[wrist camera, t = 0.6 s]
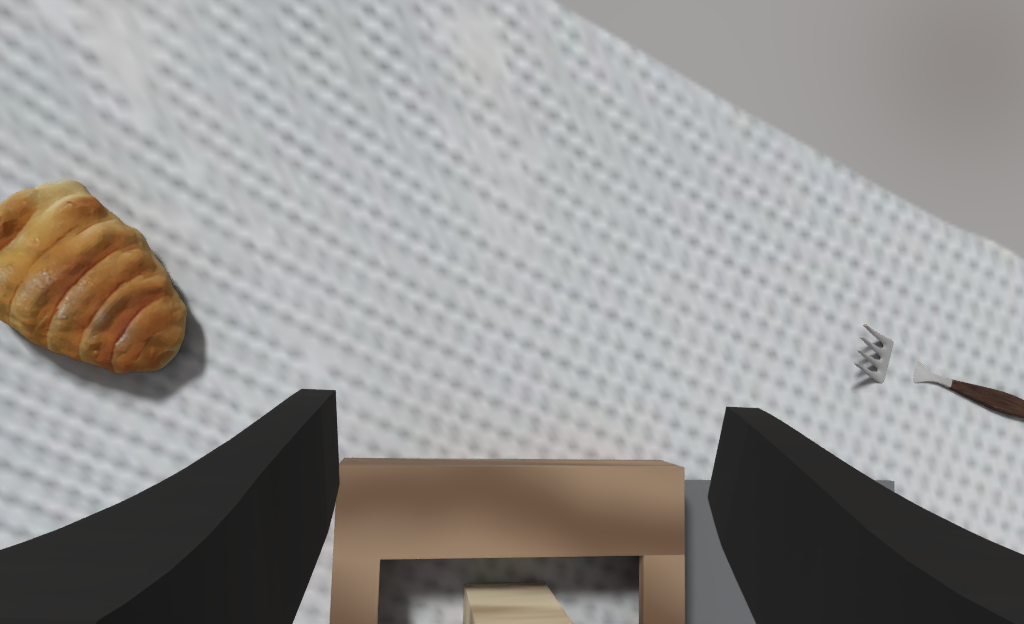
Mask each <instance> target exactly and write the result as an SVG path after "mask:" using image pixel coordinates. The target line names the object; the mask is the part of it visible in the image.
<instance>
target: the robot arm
mask: <svg viewBox="0 0 1024 624" xmlns="http://www.w3.org/2000/svg"><path fill="white" fill-rule="evenodd" d="M339 485H340V477H339V455H338V433H337V410H336V390H316V389H301V390H299V391H298V392H296V393H295V394H293V395H292V396H290V397H289V398H287V399H286V400H285V401H283V402H282V403H281V404H279V405H278V406H276V407H275V408H274V409H272V410H271V411H270V412H268V413H267V414H266V415H264V416H263V417H261V418H260V419H259V420H257V421H256V422H254V423H253V424H252V425H250V426H249V427H247V428H246V429H244V430H243V431H242V432H240V433H239V434H237V435H236V436H235V437H233V438H232V439H230V440H229V441H227V442H226V443H224V444H222V445H221V446H219V447H218V448H216V449H215V450H213V451H211V452H210V453H208V454H207V455H205V456H204V457H202V458H200V459H199V460H197V461H196V462H194V463H193V464H191V465H189V466H188V467H186V468H185V469H183V470H181V471H179V472H178V473H176V474H174V475H172V476H171V477H169V478H167V479H165V480H163V481H162V482H160V483H158V484H156V485H154V486H152V487H150V488H148V489H146V490H144V491H142V492H140V493H138V494H137V495H135V496H133V497H131V498H129V499H126V500H124V501H122V502H120V503H118V504H116V505H113V506H111V507H109V508H106V509H104V510H102V511H100V512H97V513H95V514H93V515H90V516H88V517H86V518H83V519H81V520H79V521H76V522H74V523H72V524H69V525H67V526H65V527H63V528H60V529H57V530H55V531H52V532H50V533H47V534H44V535H42V536H39V537H36V538H33V539H31V540H28V541H25V542H23V543H20V544H17V545H14V546H11V547H8V548H5V549H2V550H0V624H292V623H293V621H294V618H295V616H296V613H297V611H298V608H299V606H300V603H301V601H302V598H303V596H304V593H305V591H306V588H307V585H308V583H309V580H310V578H311V575H312V573H313V570H314V568H315V565H316V562H317V560H318V557H319V555H320V552H321V550H322V547H323V544H324V542H325V539H326V536H327V534H328V531H329V527H330V523H331V519H332V515H333V511H334V507H335V502H336V498H337V494H338V490H339ZM707 498H708V501H709V505H710V509H711V513H712V516H713V520H714V524H715V527H716V530H717V534H718V537H719V540H720V543H721V546H722V549H723V551H724V553H725V556H726V558H727V560H728V563H729V565H730V567H731V569H732V572H733V574H734V576H735V578H736V581H737V583H738V585H739V587H740V590H741V592H742V594H743V596H744V598H745V601H746V603H747V605H748V607H749V609H750V612H751V614H752V616H753V618H754V620H755V623H756V624H1024V555H1023V554H1020V553H1018V552H1015V551H1013V550H1011V549H1008V548H1006V547H1004V546H1001V545H999V544H996V543H994V542H992V541H990V540H987V539H985V538H983V537H981V536H979V535H976V534H974V533H972V532H970V531H968V530H966V529H964V528H962V527H960V526H958V525H956V524H954V523H952V522H950V521H948V520H946V519H944V518H942V517H940V516H938V515H936V514H934V513H932V512H930V511H928V510H926V509H924V508H922V507H920V506H918V505H916V504H914V503H913V502H911V501H909V500H907V499H905V498H904V497H902V496H900V495H898V494H897V493H895V492H893V491H892V490H890V489H888V488H886V487H885V486H883V485H881V484H880V483H878V482H876V481H874V480H873V479H871V478H869V477H868V476H866V475H865V474H863V473H861V472H860V471H858V470H856V469H855V468H853V467H852V466H850V465H848V464H847V463H845V462H844V461H842V460H841V459H839V458H838V457H836V456H834V455H833V454H831V453H830V452H828V451H827V450H825V449H824V448H822V447H821V446H819V445H818V444H816V443H815V442H813V441H812V440H810V439H808V438H807V437H805V436H804V435H802V434H801V433H799V432H798V431H796V430H795V429H793V428H792V427H790V426H789V425H787V424H785V423H784V422H782V421H781V420H779V419H777V418H776V417H774V416H772V415H771V414H769V413H767V412H765V411H763V410H761V409H759V408H742V407H726V411H725V416H724V421H723V425H722V430H721V435H720V440H719V444H718V449H717V454H716V459H715V463H714V468H713V473H712V478H711V482H710V487H709V492H708V497H707Z"/></svg>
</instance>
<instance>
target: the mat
mask: <svg viewBox="0 0 1024 624" xmlns="http://www.w3.org/2000/svg"><path fill="white" fill-rule="evenodd" d="M874 481H876V482H878V483H880V484H881V485H883V486H885V487H886V488H888V489H890V490H892V491H893V492H894V481H882V480H874ZM710 482H711V480H684V507H685V624H756V623H755V620H754V618H753V616H752V614H751V612H750V609H749V607H748V605H747V603H746V601H745V598H744V596H743V594H742V592H741V590H740V587H739V585H738V583H737V581H736V578H735V576H734V574H733V572H732V569H731V567H730V565H729V563H728V560H727V558H726V556H725V553H724V551H723V549H722V546H721V543H720V540H719V537H718V534H717V530H716V527H715V524H714V520H713V516H712V513H711V509H710V505H709V501H708V498H707V497H708V492H709V487H710Z"/></svg>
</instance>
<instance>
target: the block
mask: <svg viewBox="0 0 1024 624" xmlns="http://www.w3.org/2000/svg"><path fill="white" fill-rule="evenodd" d="M463 624H573V623H572V622H571V620H570V619H569V617H568V616H567V614H566V613H565V611H564V610H563V608H562V607H561V605H560V604H559V602H558V601H557V600H556V598H555V597H554V595H553V594H552V592H551V591H550V589H549V588H548V586H547V585H546V583H498V584H464V612H463Z"/></svg>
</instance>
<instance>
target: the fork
mask: <svg viewBox="0 0 1024 624" xmlns="http://www.w3.org/2000/svg"><path fill="white" fill-rule="evenodd" d="M863 326H864V327H865V328H866V329H867V330H868V331H869V332H870V333H871V334H872V335H874V336H875V337H876V338H877V339H878V340H879V341H880V342H881V343H882V344H883V348H880V347H878V346H876V345H874V344H873V343H871V342H869V341H868V340H866V339H865V338H863V337H860V338H861V339H862V340H863V341H864V342H865V343H866V344H867V345H868V346H869V347H870V348H871V349H873V350H874V351H875V352H876V353H877V354H878V355H879V356H880V360H876V359H874V358H872V357H871V356H869V355H867V354H865V353H864V352H862V351H861V350H857V351H858V352H859V353H860V354H861V355H862V356H863V357H865V358H866V359H867V360H868V361H869V362H870V363H872V364H873V365H874V366H875V367H876V368H877V372H876V373H875V372H873V371H871V370H869V369H867V368H865V367H863V366H861V365H860V364H858V363H857V362H854V364H855V365H856V366H857V367H859V368H860V369H861V370H862V371H863V372H864V373H866V374H867V375H868V376H870V377H871V378H872V379H874V380H875V381H877V382H878V383H883V382H884V380H885V376H886V372H887V368H888V364H889V360H890V356H891V352H892V347H893V341H892V340H891V339H889V338H886V337H884V336H883V335H881V334H879V333H878V332H876V331H874V330H873V329H871V328H870V327H869V326H867V325H866V324H864V325H863ZM921 382H936V383H939V384H941V385H943V386H946V387H948V388H950V389H952V390H954V391H956V392H958V393H960V394H962V395H964V396H966V397H968V398H970V399H972V400H974V401H976V402H978V403H980V404H982V405H984V406H986V407H988V408H991V409H993V410H996V411H998V412H1001V413H1005V414H1008V415H1012V416H1017V417H1021V418H1024V400H1023V399H1020V398H1018V397H1016V396H1013V395H1011V394H1008V393H1005V392H1002V391H998V390H995V389H991V388H986V387H982V386H978V385H973V384H969V383H965V382H960V381H956V380H952V379H948V378H944V377H941V376H938V375H936V374H934V373H933V372H931V371H930V370H928V369H927V368H926V367H925V366H924V365H923V364H922V363H920V362H918V363H917V365H916V368H915V372H914V383H921Z"/></svg>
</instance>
